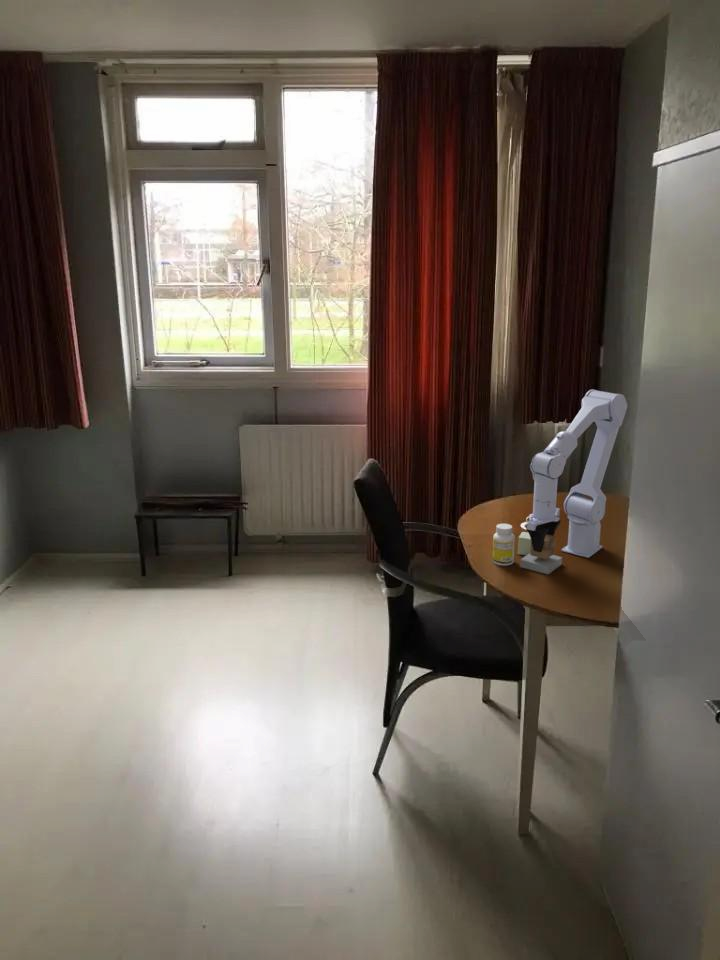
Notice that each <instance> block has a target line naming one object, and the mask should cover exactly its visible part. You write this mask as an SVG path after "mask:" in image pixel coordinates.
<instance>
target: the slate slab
mask: <svg viewBox="0 0 720 960" xmlns="http://www.w3.org/2000/svg"><path fill="white" fill-rule="evenodd" d="M562 563H563V557H562V556H558V555H555V554H553V555H552V556H550V557H549V558H547V559H543V558H539V557H536V556H532V555H530V553H529V554H528V555H524V556H523V557H522V558H521V559H520V560H519V568H523V569H527V570H531V571H534V572H537V573H542V574H544V575H549V574H551V573H552V572H554V570H556V569H558V568H559V567H560V566H561V565H562Z"/></svg>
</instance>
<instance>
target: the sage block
mask: <svg viewBox="0 0 720 960" xmlns="http://www.w3.org/2000/svg"><path fill="white" fill-rule="evenodd" d="M517 540H518V541H517V555H522V556H526V555H528V554H529V553H531V538H530V535H529V533H528V531H527V532H525V531H522V532H521V533H520V534H519V535H518V539H517Z"/></svg>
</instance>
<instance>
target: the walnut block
mask: <svg viewBox="0 0 720 960" xmlns="http://www.w3.org/2000/svg"><path fill="white" fill-rule="evenodd" d="M555 546H556V536H555V535H554V536H552V535H548V534H546V536H545V539H544V544H543V549H542V552H536V551H533V546H532V542H531V553H530V555H532V556H536V557H539V558H543V559H547V558H549V557H550V556H552V555H555Z"/></svg>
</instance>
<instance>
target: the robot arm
mask: <svg viewBox="0 0 720 960" xmlns="http://www.w3.org/2000/svg"><path fill="white" fill-rule="evenodd" d="M580 405H581V408H580V410H578V413H577V414H576V415H575V417H574V418H573V420H572V422H570V425H569V426H568V427H567V429H566V430H564V431H559V432H558V433H557V434H556V436H555V437H554V438H553V439H552V440H551V442H550V443H549V444H548V445H547V447H546V448H545V449H543V451H542V452H538V453H536V454H535V455H534V456H533V457H532V459H531V463H530V464H529V468H530V472H531V473H532V479H533V480H534V485H533V486H534V487H533V501H532V513H531V514H532V515H531V518H530V520H527V524H526V525H525V528H526V529H527V530H526V531H527V532H528V533H529V535H530V538H531V542H532V546H533V551H536V552H542V549H543V544H544V539H545V536H546V534H548V535H552V536H555V533H556V531H557V529H558V528H559V525H561V520H562V519H560V517H559V516H560V510H561V508H559V507H557V496H558V495H557V494H558V492H557V491H558V481H559V477H560V476H561V475H562V474H563V471H564V469H565V466H566V463H567V459H568V458H569V457H570V455H571V454H572V453H573V452H574V451H575V449H576V448H577V447H578V439H579V438H580V437H581V435H582V434H584V432H585V431H586V430H587V429H588V428H589V427H590V426H591V425H592V424H593V423H595V425H596V427H597V428H596V432H595V435H594V438H593V441H592V445H591V448H590V451H589V455H588V458H587V461H586V464H585V467H584V470H583V471H584V472H583V474H582V477H581V481H580V483H577V484H576V485H574V486H572V487H571V488H570V490H569V493H568V495H567V496H566V498H565V499H564V502H563V511H564V513H565V514H566V515H567V517H566V518H567V519H568V520H569V521H568V523H569V524H568V536H567V545H566V546H564V547H563V548H561V552H563V553H568V554H573V555H576V556H579V557H584V558H588V559H589V558H590V557H592V556H593V555H594V554H596V553H597V552H598V551H600V550H601V549H602V548H603V545H600V539H601V530H602V529H601V528H602V526H601V522H600V521H601V520H602V519H603V518H604V516H605V514H606V501H607V496H606V495H605V493H604V492H603V491H602V489H601V488H602V487H601V486H602V483H603V480H604V477H605V473H606V471H607V468H608V465H609V461H610V458H611V454H612V451H613V449H614V445H615V442H616V439H617V435H618V432H619V429H620V427H622V425H623V422H624V419H625V415H626V413H627V409H628V402H627V399H626V397H625V395H624V394H621V393H613V392H608V391H602V390H601V391H600V390H597V389H594V388H593V389H589V390H588V391H587V392H586V393H585V395H584V397H583V398H582V399H581V404H580ZM585 495H586V496H585ZM588 496H589V497H588Z"/></svg>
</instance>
